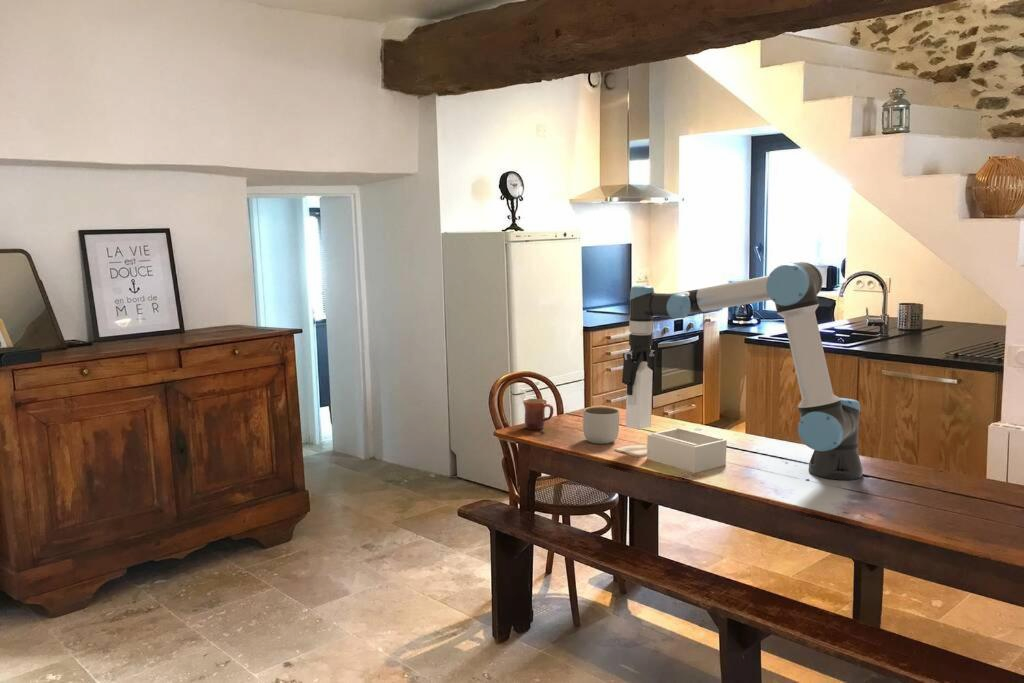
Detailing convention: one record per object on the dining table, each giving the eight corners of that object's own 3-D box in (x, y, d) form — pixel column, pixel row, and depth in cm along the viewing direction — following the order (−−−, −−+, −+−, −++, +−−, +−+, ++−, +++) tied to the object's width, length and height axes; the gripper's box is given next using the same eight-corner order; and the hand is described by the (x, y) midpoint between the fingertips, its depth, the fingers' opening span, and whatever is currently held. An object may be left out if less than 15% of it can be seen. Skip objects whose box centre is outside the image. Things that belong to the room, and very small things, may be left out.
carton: (725, 465, 258) (726, 438, 257) (694, 473, 249) (695, 445, 248) (678, 451, 274) (678, 426, 272) (646, 458, 265) (647, 433, 264)
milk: (636, 424, 277) (638, 358, 274) (651, 427, 273) (653, 360, 270) (625, 426, 273) (626, 360, 270) (639, 429, 269) (641, 362, 266)
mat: (661, 452, 273) (662, 450, 273) (638, 457, 266) (638, 455, 266) (637, 445, 282) (637, 443, 281) (614, 450, 275) (614, 448, 275)
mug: (518, 429, 305) (518, 401, 303) (530, 424, 312) (530, 397, 311) (546, 433, 298) (546, 405, 297) (558, 428, 306) (558, 401, 304)
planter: (618, 446, 280) (618, 415, 278) (581, 445, 282) (581, 413, 280) (619, 437, 292) (620, 407, 291) (584, 436, 294) (584, 406, 292)
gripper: (653, 330, 277) (651, 398, 281) (611, 334, 266) (609, 404, 269) (669, 332, 272) (667, 401, 275) (627, 336, 260) (625, 408, 263)
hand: (638, 403), depth 272 cm, fingers closed on milk, 6 cm apart
